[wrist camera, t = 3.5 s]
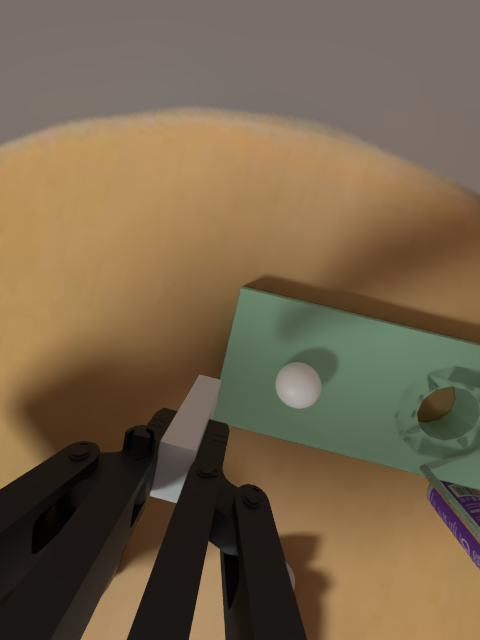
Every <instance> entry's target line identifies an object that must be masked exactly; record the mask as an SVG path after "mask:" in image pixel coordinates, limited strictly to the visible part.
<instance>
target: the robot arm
mask: <svg viewBox="0 0 480 640" xmlns="http://www.w3.org/2000/svg"><path fill="white" fill-rule="evenodd" d="M221 381H222V380H219V379H216V378H212V377H208V376H204V375H200V374H199V376H198V378H197V380H196V381H195V383H194V385H193V386H192V388H191V390H190V391H189V393H188V395H187V397H186V398H185V400H184V402H183V403H182V405H181V407H180V409H179V410H178V411H174V410H171V409H167V408H163V409H161V410H159V411H157V412H156V413H155V415H154V416H153V417H152V419H151V420H150V422H149V423H148V424H147V426H144V425H140V426H134V427H132V428H130V429H128V430H127V431H126V432H125V438H124V445H123V449H122V451H119V452H112V453H100V450H99V446H97V445H96V444H95V443H92V442H85V441H82V442H77V443H74V444H72V445H70V446H68V447H66V448H64V449H63V450H61V451H60V452H58V453H57V454H55V455H53V456H52V457H50V458H49V459H47V460H46V461H44V462H43V463H41V464H39V465H38V466H36V467H35V468H33V469H32V470H30V471H28V472H27V473H25V474H24V475H22V476H21V477H19V478H17V479H16V480H14V481H13V482H11V483H10V484H8V485H7V486H5V487H3V488H2V489H0V640H80V639H81V637H82V635H83V633H84V631H85V629H86V627H87V625H88V623H89V621H90V619H91V617H92V615H93V613H94V610H95V608H96V606H97V604H98V602H99V600H100V598H101V596H102V595H103V594H104V592H105V591H106V590H107V588H108V587H109V585H110V583H111V582H112V580H113V577H114V575H115V573H116V571H117V569H118V567H119V565H120V562H121V559H122V553H123V551H124V549H125V547H126V545H127V543H128V541H129V538H130V536H131V534H132V532H133V530H134V528H135V526H136V524H137V522H138V520H139V518H140V516H141V514H142V512H143V510H144V507H145V503H146V498H147V495H148V493H149V491H150V489H151V493H150V496H152V497H155V498H159V499H162V500H166V501H170V502H173V503H177V504H176V506H175V509H174V512H173V515H172V517H171V520H170V523H169V526H168V528H167V531H166V534H165V536H164V539H163V542H162V545H161V547H160V550H159V553H158V556H157V558H156V561H155V564H154V567H153V569H152V572H151V575H150V578H149V580H148V583H147V586H146V589H145V591H144V594H143V597H142V599H141V602H140V605H139V608H138V610H137V613H136V616H135V619H134V621H133V624H132V627H131V630H130V632H129V635H128V638H127V640H189V636H190V631H191V626H192V621H193V615H194V610H195V605H196V600H197V595H198V590H199V585H200V580H201V575H202V570H203V565H204V560H205V555H206V550H207V545H208V541H210V542H211V543H212V544H214V545H215V546H217V547H218V548H219V549H220V559H221V575H222V591H223V606H224V622H225V638H226V640H307V638H306V635H305V631H304V627H303V624H302V620H301V616H300V613H299V609H298V605H297V602H296V598H295V594H294V591H293V587H292V583H291V580H290V576H289V573H288V569H287V565H286V562H285V558H284V554H283V551H282V547H281V543H280V540H279V536H278V532H277V529H276V525H275V521H274V518H273V514H272V511H271V507H270V503H269V500H268V498H267V496H266V494H265V493H264V492H263V491H262V489H260V488H259V487H257V486H255V485H251V484H246V485H242V486H240V487H239V488H238V487H236V486H234V485H233V484H231V483H230V482H229V481H228V480H227V479H226V478H225V476H224V474H223V470H222V466H223V461H224V456H225V451H226V446H227V441H228V436H229V428H228V425H227V424H226V423H223V422H219V421H215V420H212V418H213V415H214V410H215V406H216V402H217V398H218V394H219V389H220V385H221Z"/></svg>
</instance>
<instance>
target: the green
mask: <svg viewBox="0 0 480 640" xmlns="http://www.w3.org/2000/svg"><path fill="white" fill-rule="evenodd" d="M293 362H301V363H305V364H307V365H309V366H311V367H312V368H313V369H314V370H315V371H316V372H317V373H318V375H319V377H320V380H321V387H322V388H321V393H320V396H319V398H318V399H317V401H316V402H315V403H314V404H313V405H311V406H309V407H307V408H302V409H297V408H293V407H290V406H288V405H286V404H285V403H284V402H283V401H282V400H281V399H280V398H279V396H278V394H277V392H276V387H275V381H276V377H277V374H278V372H279V371H280V370H281V369H282V368H283V367H284V366H285V365H287V364H289V363H293ZM220 380H222V381H221V385H220V389H219V394H218V398H217V402H216V406H215V410H214V415H213V418H212V420H215V421H219V422H223V423H226V424H227V425H228V426H232V427H236V428H240V429H244V430H248V431H251V432H255V433H259V434H263V435H267V436H271V437H275V438H279V439H283V440H287V441H291V442H294V443H298V444H302V445H306V446H310V447H314V448H318V449H322V450H326V451H330V452H333V453H337V454H341V455H345V456H349V457H353V458H357V459H361V460H365V461H369V462H373V463H376V464H380V465H384V466H388V467H392V468H396V469H400V470H404V471H408V472H412V473H415V474H419V475H423V476H424V474H423V473H422V472H421V471H420V469H419V468H420V466H421V465H427V466H428V468H429V469H430V470H431V471H432V472H433V473H434V475H435V476H436V477H437V478H438V479H439V480H443V481H447V482H451V483H455V484H458V485H462V486H466V487H470V488H474V489H478V490H480V343H476V342H472V341H468V340H464V339H459V338H455V337H451V336H447V335H443V334H439V333H435V332H431V331H426V330H422V329H418V328H414V327H410V326H406V325H402V324H398V323H394V322H389V321H385V320H381V319H377V318H373V317H369V316H365V315H361V314H357V313H352V312H348V311H344V310H340V309H336V308H332V307H328V306H324V305H319V304H315V303H311V302H307V301H303V300H299V299H295V298H291V297H287V296H282V295H278V294H274V293H270V292H266V291H262V290H258V289H254V288H249V287H245V286H243V287H242V288H241V291H240V295H239V299H238V304H237V308H236V312H235V316H234V321H233V325H232V329H231V333H230V338H229V342H228V346H227V350H226V355H225V359H224V363H223V367H222V371H221V376H220ZM451 386H453V387H454V391H455V397H456V399H455V402H454V404H453V406H452V408H451V411H450V412H448V413H447V414H446V415H444V416H443V417H442V418H440V419H439V420H435V421H430V422H425V423H424V422H420V421H418V417H417V412H418V410H419V408H420V405H421V403H422V400H423V399H425V398H426V397H427V396H429V395H430V394H431V393H432V392H434V391H435V390H438V389H442V388H447V387H451Z"/></svg>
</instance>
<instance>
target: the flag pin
mask: <svg viewBox="0 0 480 640" xmlns="http://www.w3.org/2000/svg"><path fill="white" fill-rule="evenodd" d="M419 469H420V471H421V472H422V473H423V474H424V476H425V477H426V478H427V479H428V481H429V482H430V483H431V484H432V486H433V487H434V488H435V489H436V490H437V492H438V493H439V494H440V495H441V497H442V498H443V499H444V500H445V502H446V503H447V504H448V505H449V507H450V508H451V509H452V510H453V511H454V513H455V514H456V515H457V516H458V518H459V519H460V520H461V521H462V523H463V524H464V525H465V526H466V528H467V529H468V530H469V531H470V532H471V534H472V535H473V536H474V537H475V539H476V540H477V541H478V542H479V544H480V527H479V526H478V524H477V523H476V522H475V521H474V520H473V519H472V517H471V516H470V515H469V514H468V513H467V512H466V510H465V509H464V508H463V507H462V506H461V505H460V504H459V502H458V501H457V500H456V499H455V498H454V497H453V495H452V494H451V493H450V492H449V491H448V490H447V488H446V487H445V486H444V485H443V484H442V483H441V482H440V480H439V479H438V478H437V477H436V476H435V475H434V473H433V472H432V471H431V470H430V469H429V468H428V466H427V465H421V466H420V468H419Z"/></svg>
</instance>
